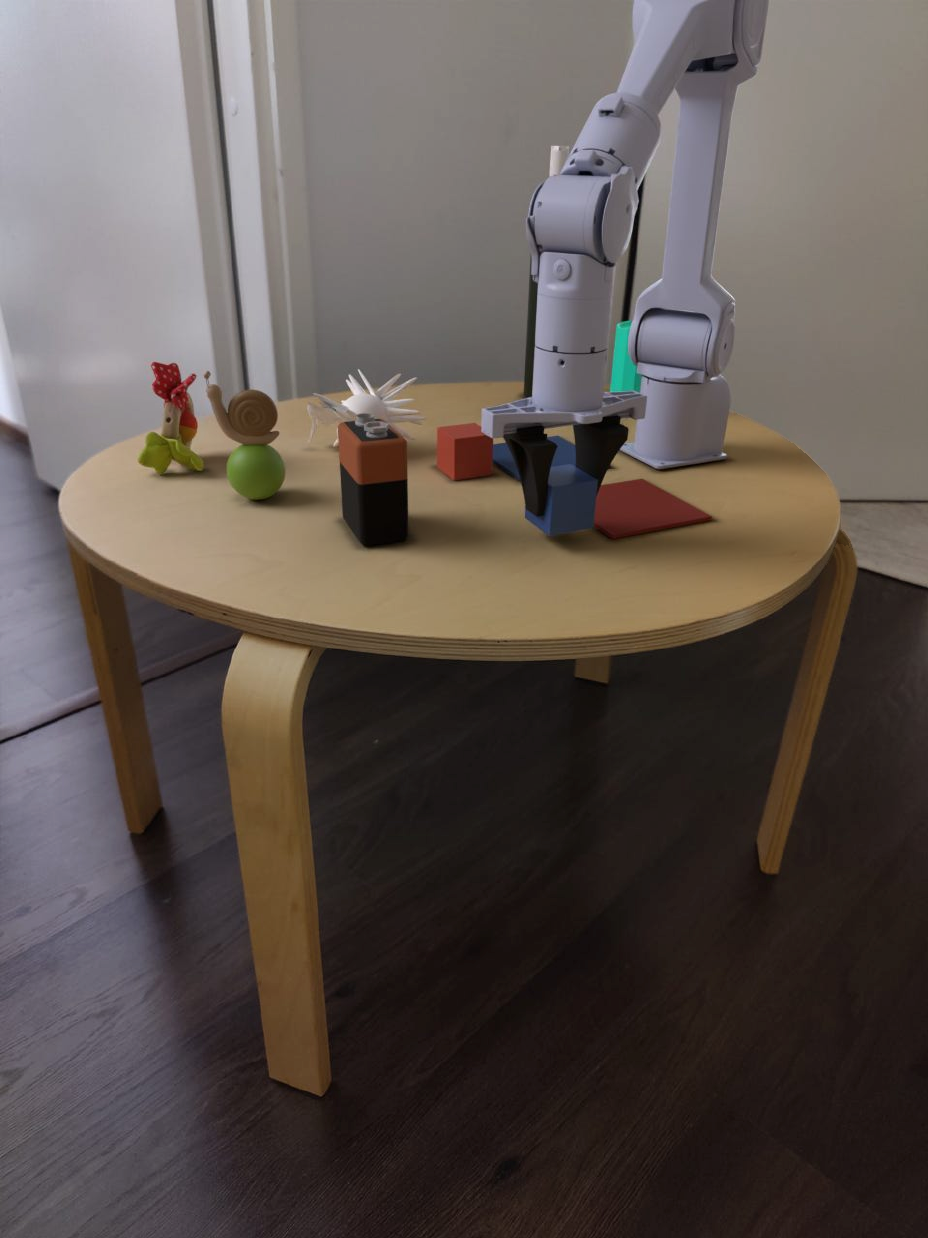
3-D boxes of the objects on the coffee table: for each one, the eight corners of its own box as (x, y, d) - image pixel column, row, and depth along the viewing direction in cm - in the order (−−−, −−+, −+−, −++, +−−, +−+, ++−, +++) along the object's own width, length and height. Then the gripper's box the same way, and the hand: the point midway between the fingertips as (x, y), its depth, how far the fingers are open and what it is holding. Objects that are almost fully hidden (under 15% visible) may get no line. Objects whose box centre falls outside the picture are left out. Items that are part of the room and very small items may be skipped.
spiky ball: (293, 454, 98) (278, 380, 93) (382, 426, 104) (372, 355, 99) (342, 480, 90) (329, 402, 85) (435, 448, 96) (428, 373, 91)
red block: (473, 462, 93) (474, 422, 91) (492, 475, 90) (493, 433, 88) (436, 467, 92) (436, 426, 89) (454, 480, 88) (454, 438, 86)
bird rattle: (155, 478, 93) (132, 471, 84) (150, 373, 92) (126, 355, 83) (214, 477, 94) (197, 471, 85) (210, 373, 93) (192, 355, 84)
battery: (361, 548, 73) (356, 433, 68) (341, 519, 79) (335, 411, 74) (410, 541, 75) (408, 428, 70) (387, 513, 80) (384, 406, 75)
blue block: (567, 510, 78) (570, 463, 75) (593, 528, 74) (598, 479, 72) (524, 517, 76) (526, 470, 74) (549, 536, 73) (552, 487, 70)
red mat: (641, 482, 89) (642, 478, 88) (711, 520, 80) (712, 516, 80) (549, 497, 84) (549, 493, 84) (612, 539, 76) (612, 534, 76)
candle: (654, 415, 110) (666, 317, 105) (607, 411, 111) (616, 314, 106) (654, 403, 116) (666, 309, 110) (609, 399, 117) (619, 306, 111)
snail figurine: (224, 488, 85) (208, 364, 79) (290, 487, 86) (279, 364, 80) (215, 508, 80) (197, 379, 75) (284, 507, 81) (272, 378, 75)
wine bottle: (568, 393, 119) (586, 146, 105) (562, 403, 114) (581, 146, 100) (527, 389, 120) (540, 145, 106) (520, 400, 116) (532, 145, 101)
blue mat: (557, 438, 101) (558, 435, 101) (610, 467, 92) (610, 464, 92) (473, 450, 97) (473, 446, 97) (520, 481, 88) (520, 477, 88)
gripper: (513, 365, 62) (506, 538, 68) (677, 349, 67) (656, 511, 74) (471, 345, 67) (468, 507, 74) (625, 332, 73) (610, 484, 79)
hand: (559, 507), depth 74 cm, fingers closed on blue block, 4 cm apart
